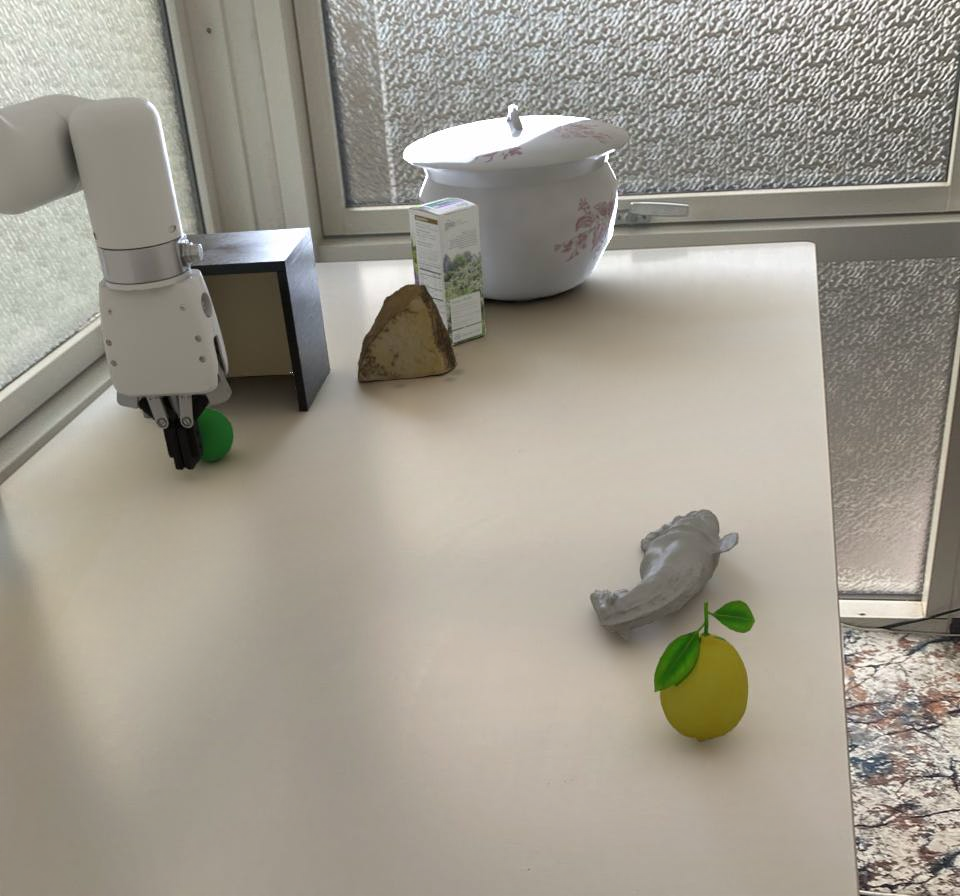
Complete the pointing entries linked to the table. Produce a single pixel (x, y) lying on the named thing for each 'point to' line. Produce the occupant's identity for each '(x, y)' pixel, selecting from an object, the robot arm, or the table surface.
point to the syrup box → (450, 263)
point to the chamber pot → (529, 196)
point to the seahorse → (666, 572)
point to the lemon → (705, 677)
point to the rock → (406, 339)
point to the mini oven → (267, 305)
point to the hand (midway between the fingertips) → (188, 463)
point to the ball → (215, 434)
